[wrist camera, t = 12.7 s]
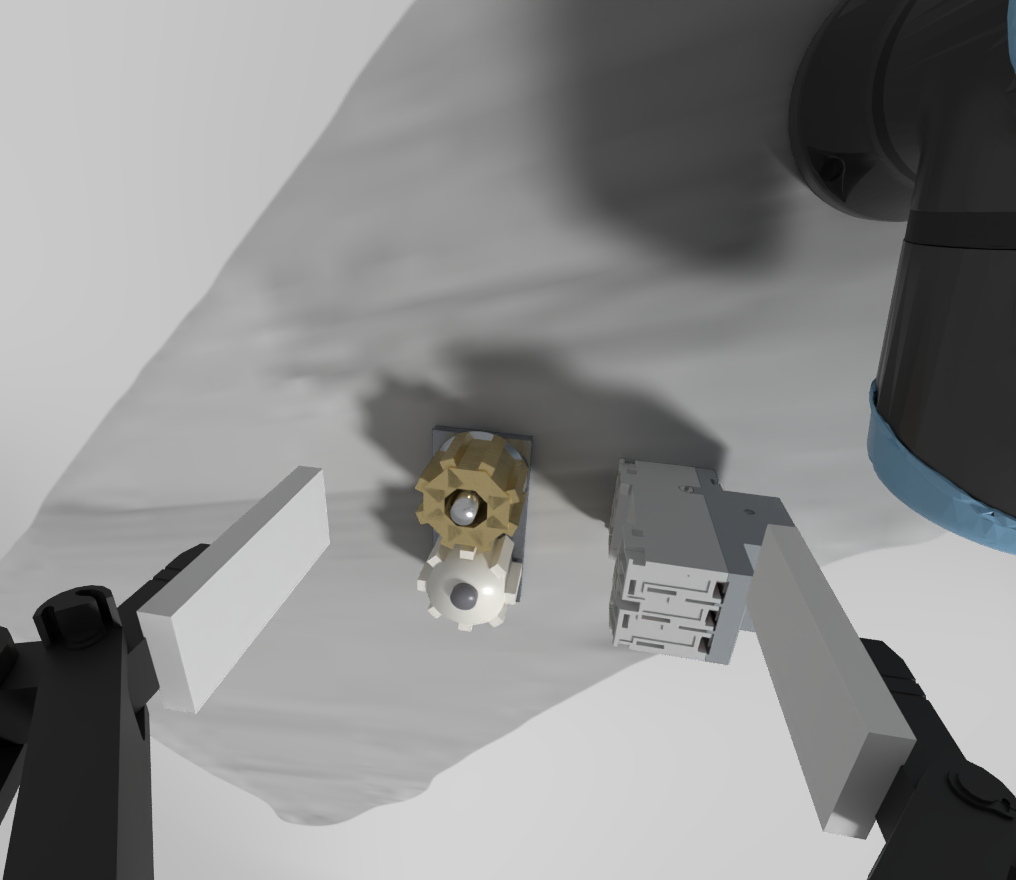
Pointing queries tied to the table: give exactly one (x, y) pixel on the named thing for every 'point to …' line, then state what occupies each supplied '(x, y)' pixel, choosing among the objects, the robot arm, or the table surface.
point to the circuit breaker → (683, 559)
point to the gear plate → (527, 456)
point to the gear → (471, 582)
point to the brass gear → (478, 471)
